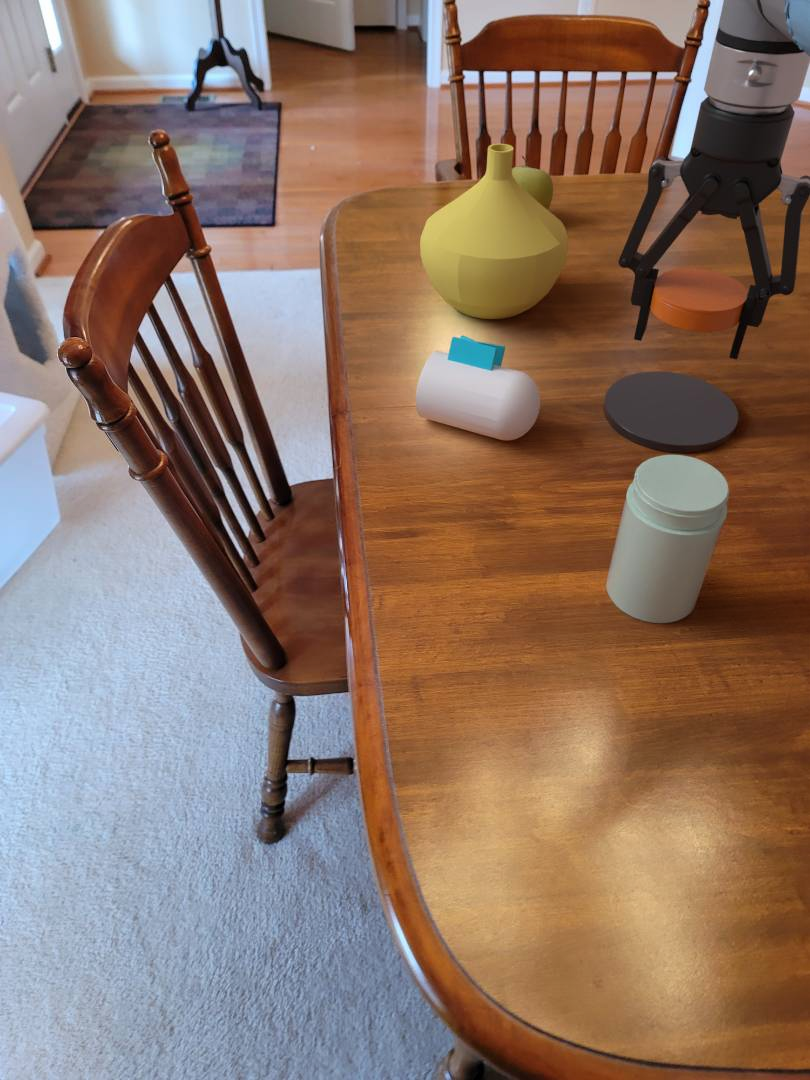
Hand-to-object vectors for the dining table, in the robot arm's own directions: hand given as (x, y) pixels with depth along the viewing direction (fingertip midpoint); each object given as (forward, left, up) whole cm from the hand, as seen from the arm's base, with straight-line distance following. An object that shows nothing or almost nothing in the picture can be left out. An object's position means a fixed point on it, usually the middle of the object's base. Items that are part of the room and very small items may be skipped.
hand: (686, 342), depth 85 cm
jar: (-3, +27, -9) cm, 29 cm away
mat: (0, 0, -9) cm, 9 cm away
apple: (+29, -43, -9) cm, 53 cm away
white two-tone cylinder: (+18, +8, -9) cm, 22 cm away
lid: (0, 0, +5) cm, 5 cm away
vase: (+26, -17, -9) cm, 32 cm away
